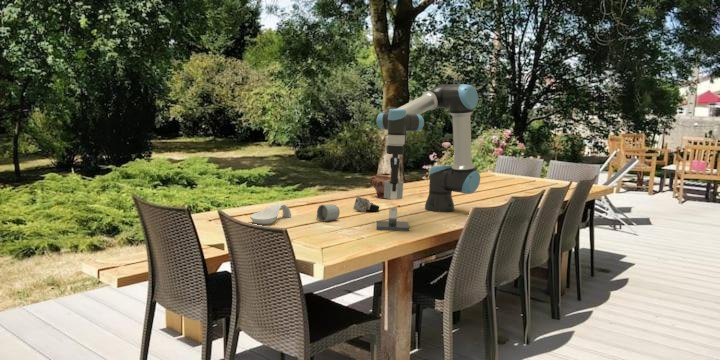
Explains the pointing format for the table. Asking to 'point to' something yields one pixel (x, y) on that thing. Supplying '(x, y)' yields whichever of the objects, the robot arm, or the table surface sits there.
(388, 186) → the tube
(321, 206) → the ceramic mug
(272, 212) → the spoon rest
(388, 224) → the shaft block
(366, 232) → the table surface
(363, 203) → the caster wheel
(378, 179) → the decorative planter
